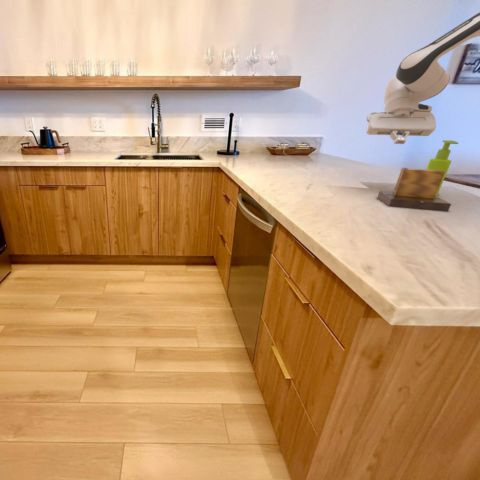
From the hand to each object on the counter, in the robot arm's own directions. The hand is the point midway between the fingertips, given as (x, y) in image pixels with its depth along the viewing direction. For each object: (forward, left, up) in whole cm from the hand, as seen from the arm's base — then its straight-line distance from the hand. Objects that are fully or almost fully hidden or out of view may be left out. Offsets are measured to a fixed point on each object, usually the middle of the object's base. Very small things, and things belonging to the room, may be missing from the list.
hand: (399, 142), depth 103 cm
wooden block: (-4, +12, -16) cm, 21 cm away
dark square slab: (-5, +12, -19) cm, 23 cm away
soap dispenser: (-17, -6, -19) cm, 26 cm away
